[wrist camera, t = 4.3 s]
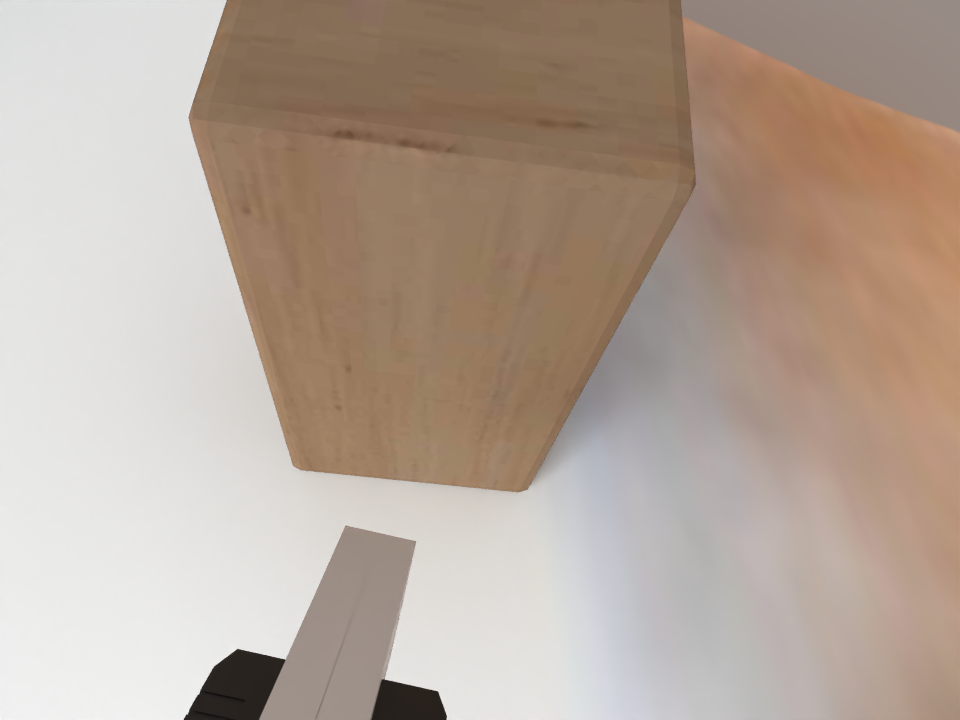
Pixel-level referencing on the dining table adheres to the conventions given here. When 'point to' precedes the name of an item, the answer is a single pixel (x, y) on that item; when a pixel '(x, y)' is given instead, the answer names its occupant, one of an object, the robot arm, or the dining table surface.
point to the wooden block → (441, 214)
